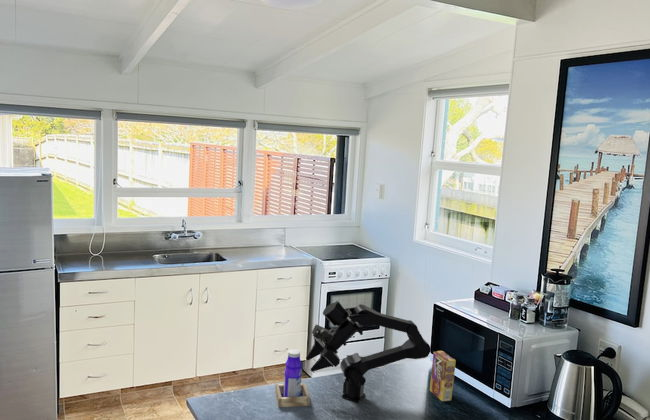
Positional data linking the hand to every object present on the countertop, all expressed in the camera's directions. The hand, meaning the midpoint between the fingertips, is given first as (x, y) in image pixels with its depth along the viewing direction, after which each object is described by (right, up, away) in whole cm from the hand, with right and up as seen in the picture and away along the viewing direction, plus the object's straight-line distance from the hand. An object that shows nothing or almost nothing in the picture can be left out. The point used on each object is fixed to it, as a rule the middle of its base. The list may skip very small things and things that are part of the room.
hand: (308, 364), depth 192 cm
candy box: (+48, -14, +10) cm, 51 cm away
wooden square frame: (-6, -12, +1) cm, 13 cm away
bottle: (-6, -12, +1) cm, 14 cm away
